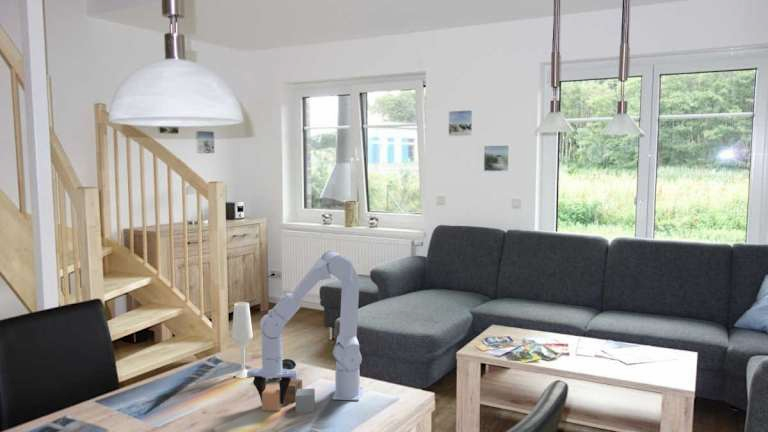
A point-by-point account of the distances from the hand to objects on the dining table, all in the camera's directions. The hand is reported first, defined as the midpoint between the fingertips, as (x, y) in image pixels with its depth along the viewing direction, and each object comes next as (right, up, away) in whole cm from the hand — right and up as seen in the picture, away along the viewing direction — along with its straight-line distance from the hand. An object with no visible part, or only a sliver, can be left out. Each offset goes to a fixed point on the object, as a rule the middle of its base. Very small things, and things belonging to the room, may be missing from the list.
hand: (273, 402), depth 171 cm
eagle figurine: (-2, 0, +22) cm, 22 cm away
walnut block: (+4, -1, +7) cm, 8 cm away
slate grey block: (+9, -2, -1) cm, 10 cm away
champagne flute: (-15, +1, +25) cm, 29 cm away
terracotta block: (0, -1, 0) cm, 1 cm away
